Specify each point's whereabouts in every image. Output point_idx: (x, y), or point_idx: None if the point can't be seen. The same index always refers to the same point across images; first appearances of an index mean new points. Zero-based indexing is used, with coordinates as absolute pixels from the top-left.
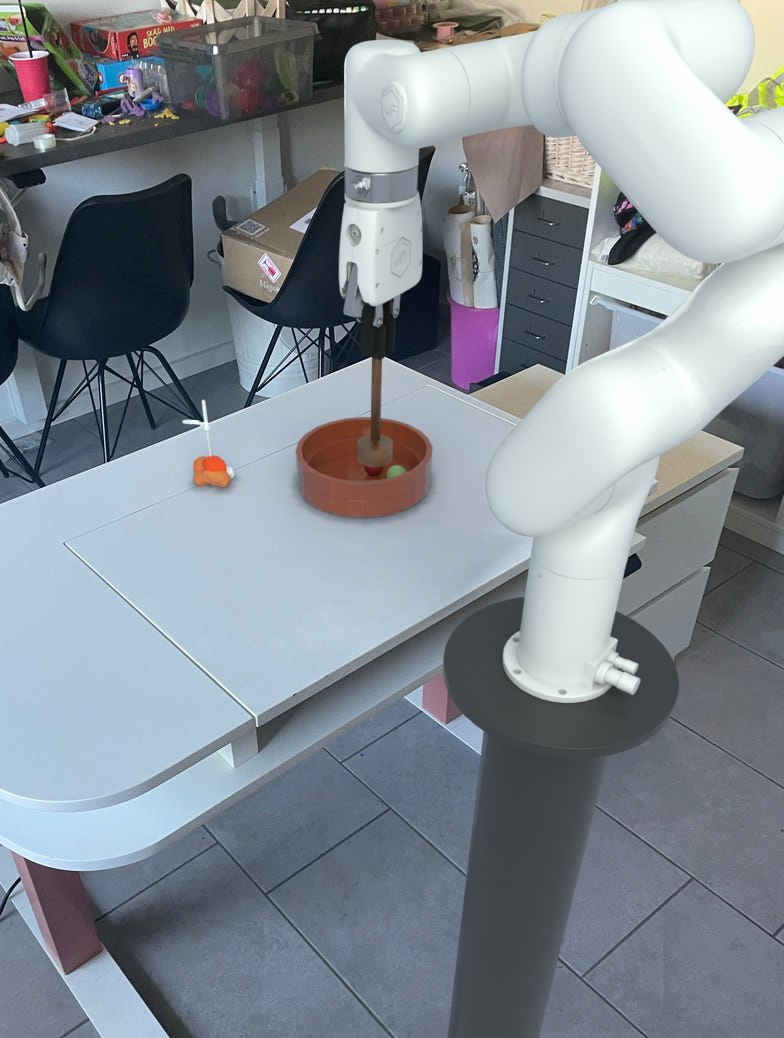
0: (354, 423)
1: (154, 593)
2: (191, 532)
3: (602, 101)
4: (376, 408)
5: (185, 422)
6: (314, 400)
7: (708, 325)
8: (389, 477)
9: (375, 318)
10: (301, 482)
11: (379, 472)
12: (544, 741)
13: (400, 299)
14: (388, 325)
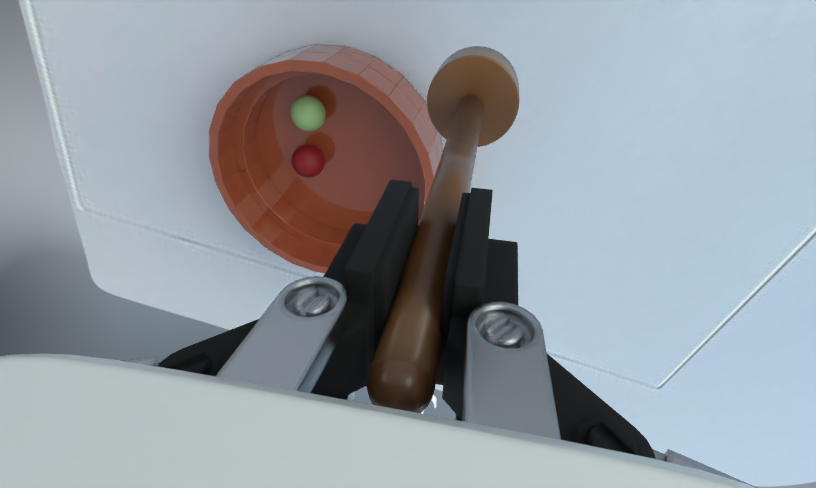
0: (264, 232)
1: (739, 260)
2: (574, 288)
3: None
4: (475, 133)
5: (435, 404)
6: (223, 306)
7: None
8: (323, 119)
9: (546, 365)
10: None
11: (313, 145)
12: None
13: (206, 340)
14: (389, 275)
